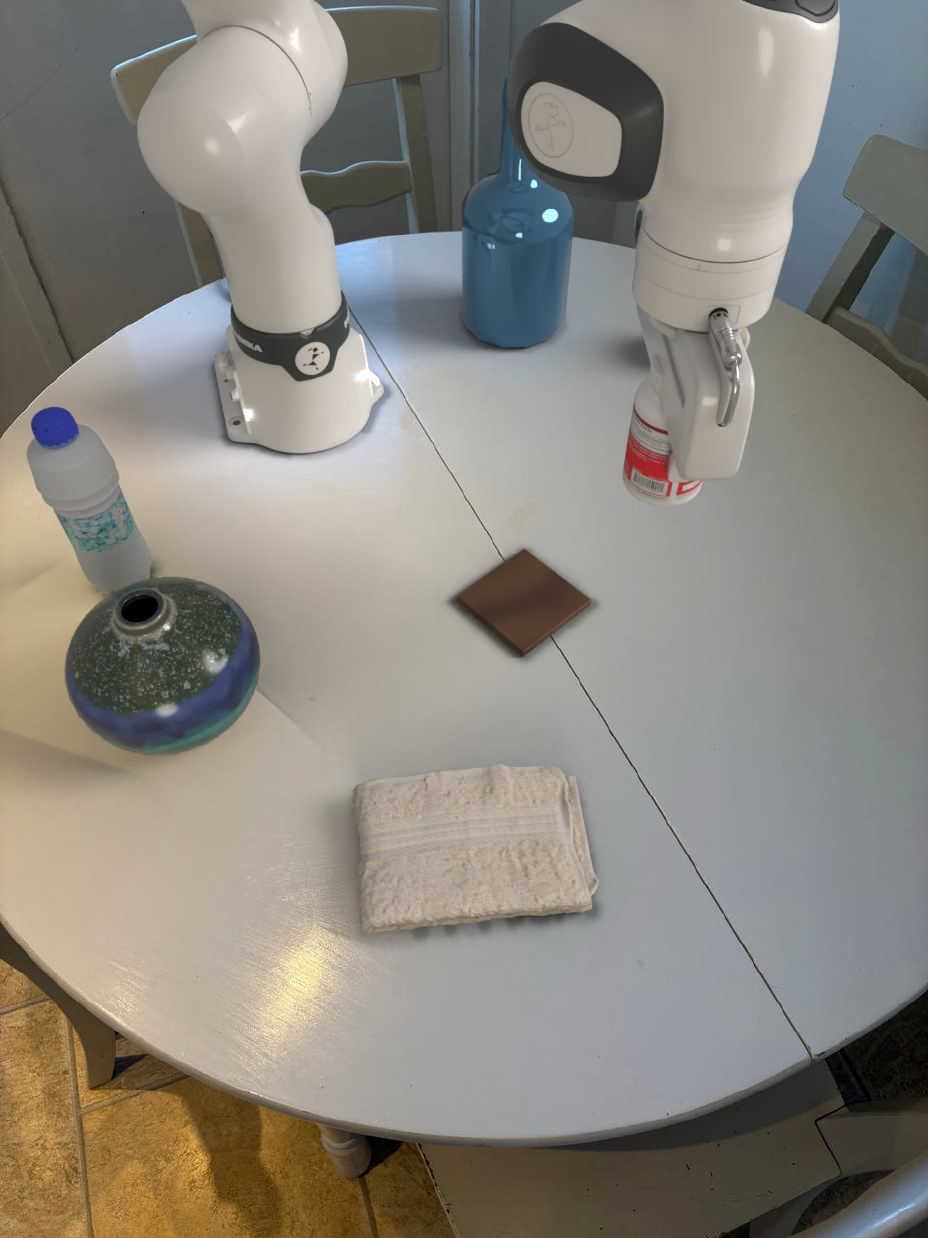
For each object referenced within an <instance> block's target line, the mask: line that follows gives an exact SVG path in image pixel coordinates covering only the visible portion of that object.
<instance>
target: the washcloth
mask: <svg viewBox="0 0 928 1238" xmlns="http://www.w3.org/2000/svg"><path fill="white" fill-rule="evenodd" d="M352 792H353V796H352V804H353V809H354V810H353V811H354V812H353V816H354V821H355V825H356V826H355V827H356V828H357V835H358V836H359V850H360V852H359V858H360V863H358V865H357V871H358V873H357V886H358V890H357V894H358V901H359V922H360V926H361V929H362V931H364V932H365V934H366V936H368V935H369V934H372V933H373V934H376V933H383V932H392V931H394V932H395V933H398V932H399V931H401V930H405V929H406V930H413V929H417V928H418V929H419V928H426V927H438V926H439V925H440V926H446V925H448V926H456V925H457V924H465V925H468V924H473V923H477V922H478V923H480V922H484V921H485V922H487V921H490V920H494V919H505V918H506V919H507V918H508V919H509V918H510V919H513V918H515V917H522V916H531V917H532V916H537V917H540V916H541V917H545V916H549V915H557V914H563V913H566V914H571V913H576V914H579V913H585V912H589V911H592V909H593V895H594V894H595V892H596V890H597V889H598V887H599V884H600V881H601V880H600V879H598V876H597V875H596V872H595V870H594V865H593V862H592V857H591V852H590V847H589V841H588V835H587V831H586V825H585V820H584V815H583V809H582V805H581V798H580V794H579V788H578V783H577V777H576V775H575V776H574V775H566V774H564V772H563V770H561V769H560V768H559V767H557V766H554V765H539V764H538V765H532V766H530V765H529V766H519V765H505V764H503V763H494V764H489V765H487V766H480V767H471V768H466V769H465V768H464V769H451V770H450V769H449V770H437V771H431V772H425V773H421V774H413V775H402V776H388V777H379V778H375V779H372V780H368V781H366V782H363V783H360V784H357V785H355V787H354V788H353V790H352Z"/></svg>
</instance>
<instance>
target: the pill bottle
mask: <svg viewBox="0 0 928 1238" xmlns="http://www.w3.org/2000/svg"><path fill="white" fill-rule="evenodd" d="M662 381H663V376H662V372H661V368H660V365H659V361H658V357H657V354H655V355H654V357H653V359H652V362H651V364H650V368H649V374H648V376H647V377H645V378H644V379H643V380H642V381H641V382H640V384H639V385H638V386H637V389H636V391H635V394H634V397H633V398H634V399H633V404H632V411H631V416H630V422H629V429H628V433H627V434H628V435H627V441H626V448H625V455H624V461H623V468H622V481H623V484H624V487H625V488H626V490H627V492H628V493H629V494H630V495H631V496H632V497H633V498H635V499H636V500H638V501H640V502H642V503H643V504H644V503H645V504H647V505H650V506H654V507H660V508H661V507H662V508H667V507H669V508H671V507H677V506H681V505H683V504H686V503H688V502H690V501H691V500H693V499H694V498H695V497H696V496H697V495H698V493H699V492H700V490H701V488H702V485H703V482H704V481H689V482H675V483H672V482H670V481H669V480H668V476H667V471H666V467H665V463H666V461H667V454H668V451H671V450H672V447H671V443H670V439H669V435H668V431H667V427H666V423H665V419H664V415H663V412H662V408H661V404H660V400H659V394H660V391H661V385H662Z"/></svg>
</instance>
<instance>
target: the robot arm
mask: <svg viewBox="0 0 928 1238" xmlns="http://www.w3.org/2000/svg"><path fill="white" fill-rule="evenodd" d="M180 2H181V4H182V6H183V7H184V9H185V11H186V12H187V14H188V16H189V18H190V20H191V23H192V25H193V28H194V31H195V35H196V44H194V45H193V46H192V47H190V48H189V49H187V50H186V51H185V52H184V53H183V54H181V55H180V56H179V57H178V58H176V59H175V60H174V61H172V62H171V64H169V65H167V67H166V68H165V69H164V70H163V72H162V73H161V74H160V76H159V77H158V79H157V81H156V83H154V86H153V87H152V89H151V91H150V93H149V94H148V96H147V98H146V100H145V102H144V103H143V105H142V107H141V109H140V111H139V115H138V118H137V127H136V130H137V131H136V134H137V141H138V145H139V146H138V147H139V151H140V153H141V156H142V159H143V161H144V163H145V165H146V167H147V169H148V170H149V172H150V174H151V176H152V177H153V179H154V180H155V181H156V182H157V184H159V186H160V187H161V188H162V189H163V190H164V192H166V193H167V194H168V195H169V196H170V197H171V198H173V200H175V201H176V202H177V203H179V204H181V205H183V206H184V207H186V208H187V209H190V210H192V211H194V212H197V213H199V215H200V216H201V218H202V219H203V220H204V222H205V224H206V226H207V227H208V229H209V231H210V233H211V235H212V237H213V239H214V241H215V244H216V247H217V250H218V253H219V257H220V260H221V264H222V268H223V273H224V275H225V279H226V284H227V288H228V291H229V295H230V301H231V305H230V315H229V317H230V324H229V325H228V326H227V327H226V329H225V332H224V333H225V338H226V342H227V347H228V349H227V350H226V351H224V352H223V351H222V352H218V353H216V354H214V357H215V359H214V371H215V377H216V381H217V386H218V391H219V392H218V393H219V396H220V402H221V407H222V412H223V417H224V422H225V427H226V433H227V438H228V439H229V440H230V441H233V442H236V443H243V444H244V443H246V444H255V445H256V444H257V445H260V446H263V447H266V448H268V449H270V450H274V451H276V452H277V451H278V452H281V453H282V452H283V453H287V454H288V453H290V454H310V453H317V452H318V453H319V452H323V451H326V450H329V449H332V448H336V447H338V446H340V445H342V444H344V443H346V442H348V441H349V440H351V439H353V438H354V437H355V436H356V435H358V434H359V433H360V432H361V430H362V429H363V428H364V427H365V426H366V424H367V423H368V421H369V418H370V416H371V411H372V408H373V407H374V405H375V404H376V403H377V402H378V401H379V400H380V399H381V397H382V396H383V395H384V393H385V388H384V386H383V382H382V381H381V380H380V379H379V377H377V376H376V375H375V374H374V373H373V372H372V371H371V370H370V368H369V362H368V357H367V352H366V347H365V346H366V345H365V341H364V338H363V335H362V334H360V333H358V332H357V330H355V329H354V328H352V327H351V326H350V310H349V306H348V303H347V299H346V295H345V293H344V291H343V289H342V288H341V283H340V282H341V281H340V273H339V266H338V259H337V258H338V257H337V251H336V243H335V236H334V229H333V226H332V223H331V222H330V219H329V218H328V217H327V215H326V214H325V213H324V212H323V211H322V210H321V209H320V208H319V207H317V206H315V205H313V204H312V203H311V202H310V200H309V198H308V196H307V194H306V190H305V188H304V185H303V181H302V178H301V160H302V155H303V151H304V148H305V146H307V144H308V143H309V142H310V141H311V140H312V139H313V138H314V137H315V135H316V134H317V133H318V132H319V131H320V130H321V129H322V127H323V126H324V125H325V124H326V123H327V122H328V120H329V119H330V118H331V116H332V114H333V113H334V111H335V108H336V106H337V104H338V102H339V99H340V97H341V94H342V91H343V88H344V85H345V82H346V79H347V75H348V66H349V65H348V63H349V62H348V61H349V60H348V59H349V58H348V51H347V48H346V44H345V43H346V42H345V39H344V37H343V35H342V32H341V30H340V28H339V27H338V25H337V23H336V20H334V18H333V17H332V16H331V15H330V13H329V12H328V11H327V10H326V9H325V8H324V7H323V6H322V5H321V4H319V2H317V1H316V0H180ZM839 3H840V2H839V0H580V1H579V2H577V3H575V4H572V5H571V6H568V7H567V8H565V9H563V10H561V11H559V12H558V13H556V14H554V15H552V16H551V17H549V18H548V19H546V20H544V21H543V22H542V23H541V24H540V25H539V26H537V27H535V28H534V29H532V30H531V31H530V32H528V34H527V35H526V36H524V38H523V39H522V40H521V42H520V43H519V45H518V47H517V48H516V50H515V52H514V55H513V57H512V59H513V60H512V59H511V60H512V63H511V67H510V66H509V71H508V72H509V76H508V82H507V94H506V102H507V114H508V121H509V125H510V129H511V133H512V136H513V139H514V142H515V144H516V147H517V149H518V151H519V153H520V155H521V156H522V158H523V160H524V161H525V163H526V164H527V165H528V167H529V168H530V169H531V170H532V172H533V173H534V174H535V175H536V176H538V177H539V178H540V179H541V180H543V181H544V182H545V183H546V184H548V185H550V186H551V187H553V188H555V189H557V190H559V191H562V192H565V193H568V195H574V196H578V197H582V198H588V199H594V200H599V201H607V202H618V203H631V202H638V204H637V206H636V209H635V215H634V222H633V223H634V224H633V230H634V239H635V245H636V249H635V257H634V269H633V275H632V276H633V277H632V282H631V293H632V296H633V299H634V300H635V304H636V313H637V318H638V322H639V325H640V328H641V332H642V336H643V341H644V344H645V348H646V352H647V356H648V360H649V364H650V365H651V362H652V359H653V357H654V355H655V354H657V357H658V361H659V365H660V368H661V372H662V376H663V381H662V385H661V391H660V394H659V400H660V404H661V408H662V412H663V415H664V419H665V423H666V427H667V431H668V435H669V439H670V443H671V447H672V450H671V451H668V454H667V461H666V463H665V467H666V471H667V476H668V480H669V481H670V482H672V483H675V482H689V481H703V482H709V481H711V482H712V481H722V480H723V481H724V480H727V479H730V478H732V477H733V476H735V475H736V474H737V473H738V471H739V470H740V466H741V463H742V458H743V455H744V452H745V446H746V442H747V437H748V433H749V430H750V424H751V420H752V416H753V415H752V414H753V410H754V403H755V393H756V384H755V375H754V370H753V366H752V363H751V361H750V358H749V356H748V353H747V350H745V347H744V344H743V342H742V339H741V336H740V334H739V332H740V331H741V330H742V329H743V327H746V328H747V327H748V326H750V325H753V324H755V323H756V322H758V321H760V319H762V318H763V317H764V316H765V315H766V314H767V312H768V311H769V310H770V307H771V305H772V302H773V299H774V295H775V292H776V287H777V285H778V281H779V278H780V273H781V270H782V267H783V263H784V261H785V256H786V253H787V250H788V246H789V242H790V239H791V236H792V231H793V226H794V210H793V209H794V201H795V196H796V193H797V190H798V187H799V185H800V183H801V181H802V179H803V178H804V176H805V175H806V173H807V172H808V170H809V168H810V166H811V164H812V161H813V158H814V155H815V151H816V148H817V143H818V141H819V137H820V133H821V128H822V125H823V122H824V117H825V114H826V108H827V105H828V99H829V95H830V91H831V86H832V81H833V76H834V71H835V66H836V60H837V54H838V47H839V41H840V39H839V38H840V29H841V27H840V26H841V24H840V22H841V15H840V14H841V13H840V4H839Z"/></svg>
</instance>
